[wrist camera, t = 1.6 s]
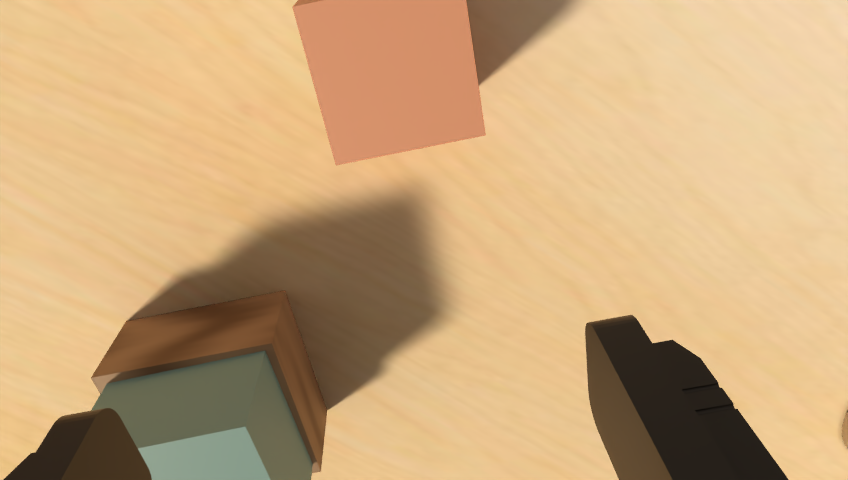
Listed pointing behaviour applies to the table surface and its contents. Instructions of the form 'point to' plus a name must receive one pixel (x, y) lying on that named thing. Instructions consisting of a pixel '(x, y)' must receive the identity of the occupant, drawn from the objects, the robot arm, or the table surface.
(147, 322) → the tower base
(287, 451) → the tower top
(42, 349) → the table surface
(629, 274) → the table surface
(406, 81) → the terracotta cube
